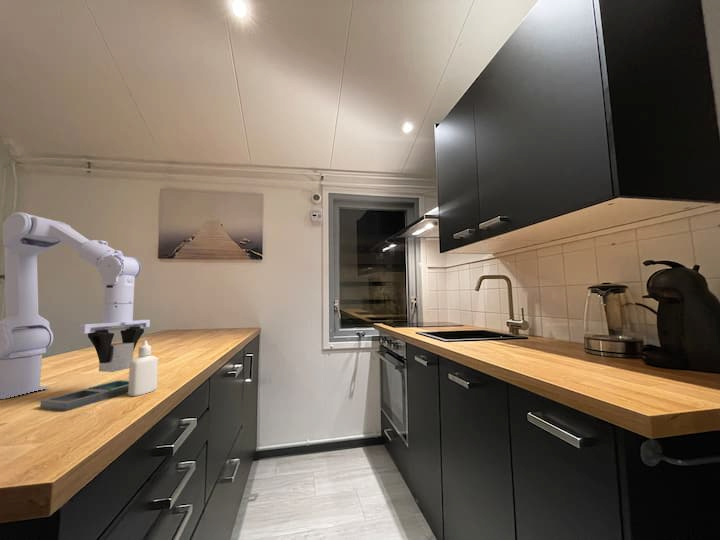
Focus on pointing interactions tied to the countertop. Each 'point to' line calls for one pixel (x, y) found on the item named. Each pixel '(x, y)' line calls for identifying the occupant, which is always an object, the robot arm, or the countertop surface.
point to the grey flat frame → (86, 396)
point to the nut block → (118, 357)
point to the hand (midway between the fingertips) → (116, 360)
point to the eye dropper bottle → (143, 372)
